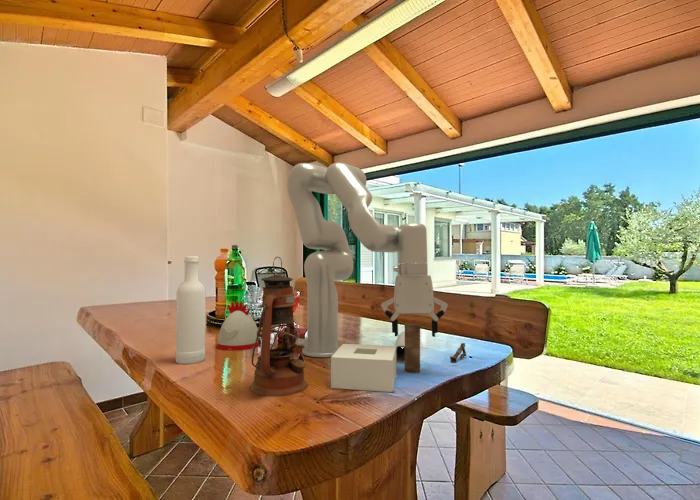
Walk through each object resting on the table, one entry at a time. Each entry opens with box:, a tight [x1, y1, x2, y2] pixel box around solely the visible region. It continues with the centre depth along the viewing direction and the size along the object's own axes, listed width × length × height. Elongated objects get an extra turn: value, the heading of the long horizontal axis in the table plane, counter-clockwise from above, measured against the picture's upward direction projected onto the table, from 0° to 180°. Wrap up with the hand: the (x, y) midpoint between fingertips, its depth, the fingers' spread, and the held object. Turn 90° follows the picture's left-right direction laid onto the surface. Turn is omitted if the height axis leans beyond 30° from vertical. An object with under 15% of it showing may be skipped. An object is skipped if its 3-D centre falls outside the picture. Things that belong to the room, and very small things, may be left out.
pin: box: [404, 323, 421, 374], centre depth 102 cm, size 4×4×12 cm
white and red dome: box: [216, 300, 260, 352], centre depth 130 cm, size 14×14×15 cm
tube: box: [394, 331, 405, 364], centre depth 122 cm, size 5×5×25 cm
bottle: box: [175, 255, 206, 365], centre depth 111 cm, size 8×8×30 cm
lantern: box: [250, 256, 308, 397], centre depth 90 cm, size 17×13×30 cm
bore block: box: [330, 343, 397, 393], centre depth 94 cm, size 14×14×7 cm
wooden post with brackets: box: [449, 342, 467, 364], centre depth 113 cm, size 2×8×4 cm, turn 138°
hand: (414, 335), depth 101 cm, fingers open, 9 cm apart
